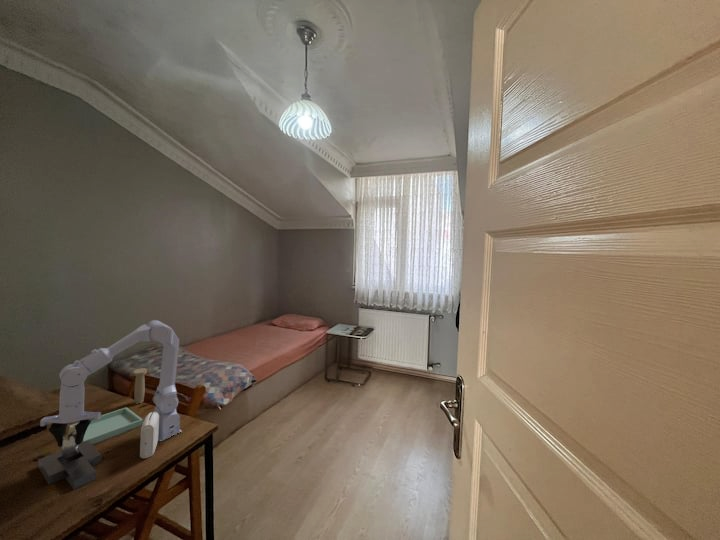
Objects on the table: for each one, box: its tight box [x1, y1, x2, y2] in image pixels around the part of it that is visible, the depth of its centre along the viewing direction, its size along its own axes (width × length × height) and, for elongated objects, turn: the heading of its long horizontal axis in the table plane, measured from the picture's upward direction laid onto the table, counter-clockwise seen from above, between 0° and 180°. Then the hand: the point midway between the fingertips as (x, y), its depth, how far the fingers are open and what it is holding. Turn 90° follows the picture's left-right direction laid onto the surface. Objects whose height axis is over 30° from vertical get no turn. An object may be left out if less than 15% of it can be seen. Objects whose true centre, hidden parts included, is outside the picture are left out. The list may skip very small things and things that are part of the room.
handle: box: [133, 367, 148, 405], centre depth 135 cm, size 5×6×15 cm
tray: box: [68, 406, 144, 446], centre depth 114 cm, size 16×18×2 cm
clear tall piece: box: [61, 425, 79, 458], centre depth 94 cm, size 6×4×8 cm, turn 19°
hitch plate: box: [37, 441, 102, 490], centre depth 92 cm, size 20×12×2 cm, turn 58°
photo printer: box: [139, 411, 159, 459], centre depth 104 cm, size 10×4×12 cm, turn 25°
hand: (70, 443), depth 94 cm, fingers closed on clear tall piece, 4 cm apart
